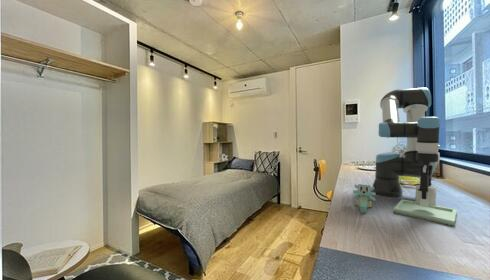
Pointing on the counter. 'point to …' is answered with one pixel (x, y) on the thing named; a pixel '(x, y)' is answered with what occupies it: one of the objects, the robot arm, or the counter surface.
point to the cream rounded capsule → (430, 197)
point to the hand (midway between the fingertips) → (425, 203)
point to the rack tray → (427, 212)
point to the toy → (364, 196)
